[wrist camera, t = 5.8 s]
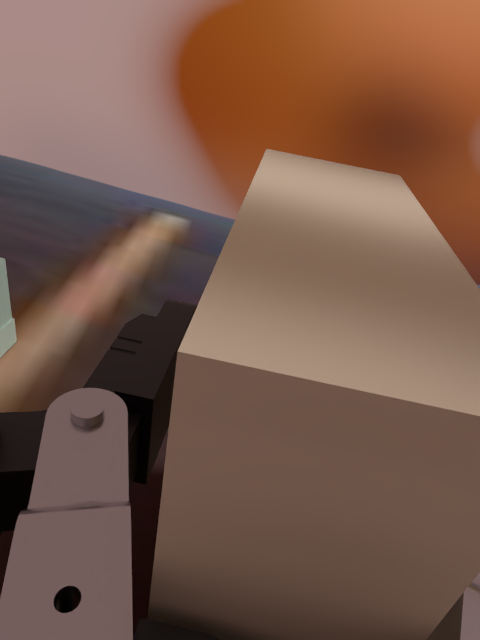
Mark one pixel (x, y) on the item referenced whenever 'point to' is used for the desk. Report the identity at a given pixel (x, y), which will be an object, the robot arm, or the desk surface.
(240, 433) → the tile
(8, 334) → the rack
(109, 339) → the desk surface
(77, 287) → the desk surface
